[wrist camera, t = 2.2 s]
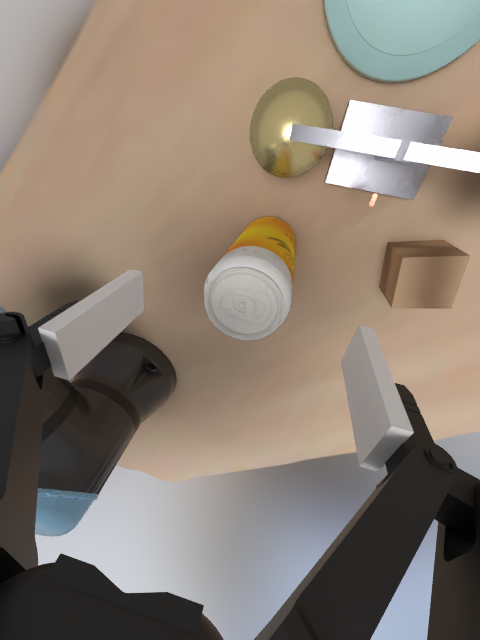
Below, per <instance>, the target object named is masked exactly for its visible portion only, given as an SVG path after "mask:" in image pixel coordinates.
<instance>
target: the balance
mask: <svg viewBox="0 0 480 640" xmlns="http://www.w3.org/2000/svg"><path fill="white" fill-rule="evenodd" d="M452 119H453V117H449V116H443V115H437V114H431V113H425V112H419V111H413V110H407V109H401V108H395V107H389V106H383V105H377V104H371V103H365V102H359V101H353V100H350V101H349V103H348V106H347V110H346V113H345V116H344V119H343V123H342V126H341V129H340V131H338V130H332V112H331V107H330V104H329V101H328V99H327V97H326V95H325V94H324V92H323V91H322V90H321V89H320V88H319V87H318V86H317V85H316V84H315V83H313V82H311V81H309V80H307V79H303V78H288V79H285V80H282V81H280V82H278V83H276V84H275V85H273V86H272V87H271V88H269V89H268V90H267V91H266V92H265V94H264V95H263V96H262V97H261V99H260V100H259V102H258V104H257V106H256V108H255V110H254V113H253V116H252V120H251V125H250V141H251V146H252V150H253V153H254V155H255V157H256V159H257V161H258V162H259V164H260V165H261V166H262V167H263V168H264V169H265V170H266V171H267V172H269V173H270V174H272V175H275V176H278V177H283V178H290V177H295V176H298V175H301V174H303V173H305V172H307V171H308V170H310V169H311V168H312V167H313V166H314V165H315V164H316V163H317V162H318V161H319V160H320V158H321V157H322V155H323V154H324V152H325V150H326V148H327V147H329V148H335V149H334V153H333V156H332V159H331V163H330V166H329V169H328V173H327V176H326V179H325V183H330V184H335V185H340V186H345V187H350V188H355V189H361V190H366V191H371V192H373V194H372V196H371V199H370V201H369V205H370V206H373V205H374V203H375V200H376V198H377V195H378V193H381V194H386V195H391V196H396V197H401V198H406V199H411V200H413V199H414V197H415V195H416V193H417V191H418V189H419V187H420V185H421V183H422V181H423V179H424V176H425V174H426V172H427V170H428V168H429V166H430V165H433V166H438V167H444V168H450V169H456V170H461V171H467V172H473V173H479V174H480V153H479V152H473V151H466V150H460V149H453V148H447V147H441V146H440V143H441V141H442V139H443V137H444V135H445V133H446V131H447V129H448V127H449V125H450V123H451V121H452Z"/></svg>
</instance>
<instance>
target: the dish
mask: <svg viewBox="0 0 480 640" xmlns="http://www.w3.org/2000/svg"><path fill="white" fill-rule="evenodd" d="M323 2H324V12H325V17H326V22H327V27H328V30H329V33H330V36H331V39H332V41H333V43H334V45H335V47H336V49H337V51H338V53H339V54H340V56H341V57H342V59H343V60H344V61H345V62H346V63H347V64H348V65H349V66H350V67H351V69H353V70H354V71H355V72H357V73H358V74H360V75H361V76H363V77H365V78H368V79H370V80H373V81H377V82H381V83H401V82H407V81H411V80H415V79H418V78H421V77H423V76H426V75H428V74H430V73H432V72H434V71H436V70H438V69H440V68H442V67H443V66H445V65H446V64H448V63H449V62H451V61H452V60H454V59H455V58H457V57H458V56H460V55H461V54H463V53H464V52H465V51H467V50H468V49H469V48H470V47H472V46H473V45H474V44H475V43H477V42H478V41H479V40H480V0H323Z"/></svg>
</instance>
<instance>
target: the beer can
mask: <svg viewBox="0 0 480 640" xmlns="http://www.w3.org/2000/svg"><path fill="white" fill-rule="evenodd" d="M295 252H296V239H295V235H294V233H293V231H292V229H291V228H290V227H289V226H288V225H287V224H286V223H285V222H284V221H282V220H280V219H278V218H275V217H262V218H259V219H257V220H255V221H253V222H252V223H250V224H249V225H248V226H247V228H246V229H245V230H244V231H243V232H242V234H241V235H240V236H239V237H238V239H237V240H236V241H235V242H234V243H233V245H232V246H231V247H230V248H229V249H228V251H227V252H226V253H225V254H224V256H223V257H222V258H221V259H220V260H219V262H218V263H217V264H216V265H215V267H214V268H213V269H212V270H211V272H210V273H209V275H208V276H207V279H206V281H205V285H204V305H205V310H206V313H207V315H208V317H209V319H210V320H211V322H212V323H213V324H214V326H215V327H216V328H217V329H219V330H220V331H221V332H223V333H224V334H226V335H228V336H230V337H233V338H236V339H240V340H257V339H261V338H263V337H266V336H268V335H269V334H271V333H272V332H273V331H275V330H276V328H278V327H279V326H280V325H281V324H282V323H283V322H284V321H285V319H286V318H287V316H288V314H289V311H290V308H291V302H292V289H293V277H294V265H295Z"/></svg>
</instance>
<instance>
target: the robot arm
mask: <svg viewBox="0 0 480 640" xmlns="http://www.w3.org/2000/svg"><path fill="white" fill-rule="evenodd" d="M143 311H144V293H143V275H142V272H141V271H137V270H133V269H130V270H128V271H127V272H125V273H123V274H122V275H120V276H119V277H117V278H116V279H114V280H112V281H111V282H109V283H108V284H106V285H105V286H103V287H101V288H100V289H98V290H97V291H95V292H94V293H92V294H90V295H89V296H87V297H86V298H84V299H83V300H81V301H74V302H71V303H68V304H65V305H64V306H62V307H61V308H59V309H58V310H56V311H54V312H52V313H51V315H47V316H46V317H44V318H43V319H41V320H39V321H38V322H36V323H34V324H33V325H31V326H29V327H28V326H27V323H26V320H25V318H24V315H22V314H21V313H17V312H6V311H5V310H4V309H3V308H2V307H1V306H0V640H223V638H222V636H221V635H220V633H219V632H218V630H217V629H216V627H215V626H214V625H213V624H212V623H211V621H210V620H209V619H208V618H207V617H205V616H204V615H203V614H202V611H203V605H201V604H198V603H196V602H193V601H190V600H187V599H185V598H182V597H179V596H176V595H173V594H171V593H168V592H155V593H124V592H122V591H121V590H120V589H119V588H118V587H117V586H116V585H114V583H112V582H111V581H110V580H109V579H108V578H107V577H106V576H105V575H104V574H103V573H102V572H100V570H98V569H97V568H96V567H95V566H94V565H91V564H88V563H86V562H83V561H80V560H77V559H75V558H72V557H69V556H66V555H64V554H60V555H59V557H58V559H57V561H56V562H55V563H48V564H43V565H39V566H38V553H37V547H36V542H35V534H37V535H43V536H61V535H64V534H66V533H68V532H70V531H71V530H72V529H73V528H75V527H76V525H77V524H78V523H79V521H80V520H81V519H82V517H83V516H84V514H85V513H86V511H87V510H88V508H89V507H90V505H91V504H92V502H93V501H94V500H96V499H97V497H98V494H99V492H100V491H101V489H102V487H103V486H104V484H105V482H106V481H107V479H108V477H109V476H110V474H111V472H112V471H113V469H114V467H115V466H116V464H117V462H118V461H119V459H120V457H121V456H122V454H123V452H124V451H125V449H126V447H127V445H128V444H129V442H130V440H131V439H132V437H133V435H134V434H135V432H136V430H137V429H138V427H139V426H140V424H141V423H142V422H143V421H144V420H146V419H147V418H148V417H149V416H150V415H151V414H152V413H154V412H155V411H156V410H157V409H158V408H159V407H161V406H162V405H163V404H164V403H165V402H166V401H167V400H168V398H169V396H170V395H171V393H172V391H173V389H174V387H175V382H176V378H175V373H174V370H173V368H172V366H171V364H170V362H169V361H168V359H167V358H166V357H165V356H164V355H163V354H162V353H161V352H160V351H159V350H158V349H157V348H156V347H154V346H153V345H152V344H150V343H148V342H147V341H145V340H143V339H141V338H138V337H136V336H133V335H129V334H122V333H120V332H121V331H123V330H124V329H125V328H126V327H127V326H128V325H129V324H130V323H131V322H132V321H133V320H134V319H135V318H136V317H137V316H138V315H140V314H141V313H142V312H143ZM341 363H342V368H343V374H344V380H345V386H346V392H347V397H348V403H349V409H350V415H351V421H352V426H353V432H354V438H355V444H356V450H357V455H358V461H359V466H361V467H365V468H368V469H371V470H375V471H379V470H380V469H381V468H382V467H383V466H384V465H386V468H387V472H388V475H387V476H386V477H385V478H384V479H383V480H382V481H381V482H380V483H379V484H378V485H377V486H376V489H375V490H374V492H373V493H372V494H371V495H370V497H369V498H368V499H367V500H366V502H365V503H364V504H363V505H362V507H361V508H360V509H359V510H358V512H357V513H356V514H355V515H354V517H353V518H352V519H351V520H350V522H349V523H348V524H347V525H346V527H345V528H344V529H343V530H342V532H341V533H340V534H339V535H338V537H337V538H336V539H335V541H334V542H333V543H332V544H331V546H330V547H329V548H328V549H327V551H326V552H325V553H324V554H323V556H322V557H321V558H320V559H319V561H318V562H317V563H316V564H315V566H314V567H313V568H312V569H311V571H310V572H309V573H308V575H307V576H306V577H305V578H304V579H303V581H302V582H301V583H300V584H299V586H298V587H297V588H296V589H295V591H294V592H293V593H292V594H291V596H290V597H289V598H288V599H287V601H286V602H285V603H284V604H283V606H282V607H281V608H280V610H279V611H278V612H277V613H276V614H275V616H274V617H273V618H272V619H271V621H270V622H269V623H268V624H267V625H266V627H265V628H264V629H263V630H262V631H261V632H260V633H259V634H258V636H257V637H256V638H255V639H254V640H370V639H371V637H372V635H373V633H374V631H375V629H376V627H377V626H378V624H379V622H380V620H381V618H382V616H383V614H384V612H385V610H386V609H387V607H388V605H389V603H390V601H391V599H392V597H393V595H394V593H395V592H396V590H397V588H398V586H399V584H400V582H401V580H402V578H403V576H404V575H405V573H406V571H407V569H408V567H409V565H410V563H411V561H412V559H413V557H414V556H415V554H416V552H417V550H418V548H419V546H420V544H421V542H422V541H423V539H424V537H425V535H426V533H427V531H428V529H429V527H430V525H431V524H432V521H433V520H434V519H436V520H437V521H438V531H437V541H436V552H435V564H434V574H433V584H432V594H431V606H430V616H429V626H428V637H427V640H480V480H479V479H477V478H476V477H474V476H472V475H470V474H468V473H466V472H464V471H463V470H461V469H459V468H457V466H456V463H455V461H454V460H453V459H452V457H451V456H450V455H449V454H448V453H447V452H446V451H445V450H444V449H443V448H441V447H440V446H438V445H436V444H435V443H434V441H433V439H432V437H431V435H430V432H429V430H428V428H427V426H426V423H425V421H424V419H423V417H422V415H420V413H421V412H420V410H419V408H418V407H417V403H416V401H415V399H414V397H413V395H412V394H411V393H410V391H409V390H408V389H407V388H406V387H405V386H404V385H400V384H396V383H394V380H393V378H392V375H391V373H390V370H389V368H388V365H387V362H386V360H385V357H384V355H383V352H382V350H381V347H380V345H379V342H378V339H377V337H376V334H375V332H374V329H373V328H370V327H366V326H362V325H359V327H358V329H357V331H356V333H355V335H354V337H353V339H352V340H351V342H350V344H349V346H348V348H347V350H346V352H345V354H344V356H343V358H342V360H341ZM74 376H75V377H74ZM73 377H74V379H73V381H72V382H71V383H70V382H69V381H70V380H71V379H72V378H73ZM68 380H69V381H68Z"/></svg>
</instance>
